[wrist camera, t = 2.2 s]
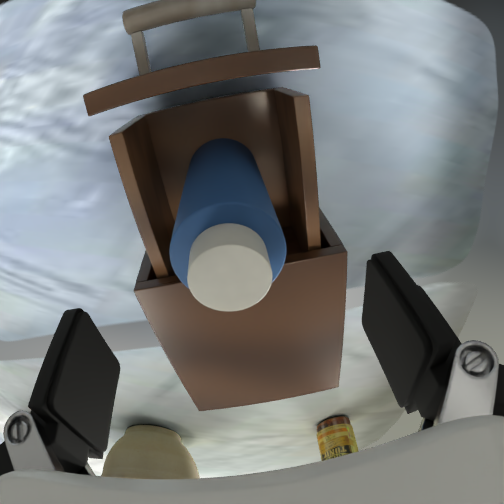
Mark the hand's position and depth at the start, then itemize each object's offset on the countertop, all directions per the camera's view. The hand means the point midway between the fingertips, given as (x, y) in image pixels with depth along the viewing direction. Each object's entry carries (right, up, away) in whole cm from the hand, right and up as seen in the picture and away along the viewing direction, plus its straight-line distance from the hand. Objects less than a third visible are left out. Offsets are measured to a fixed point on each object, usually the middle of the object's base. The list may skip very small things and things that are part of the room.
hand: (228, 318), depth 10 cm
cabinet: (0, 0, +19) cm, 19 cm away
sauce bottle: (+14, -27, +38) cm, 49 cm away
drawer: (-2, +11, +11) cm, 15 cm away
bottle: (-1, +8, +11) cm, 14 cm away
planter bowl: (-16, -29, +36) cm, 48 cm away
